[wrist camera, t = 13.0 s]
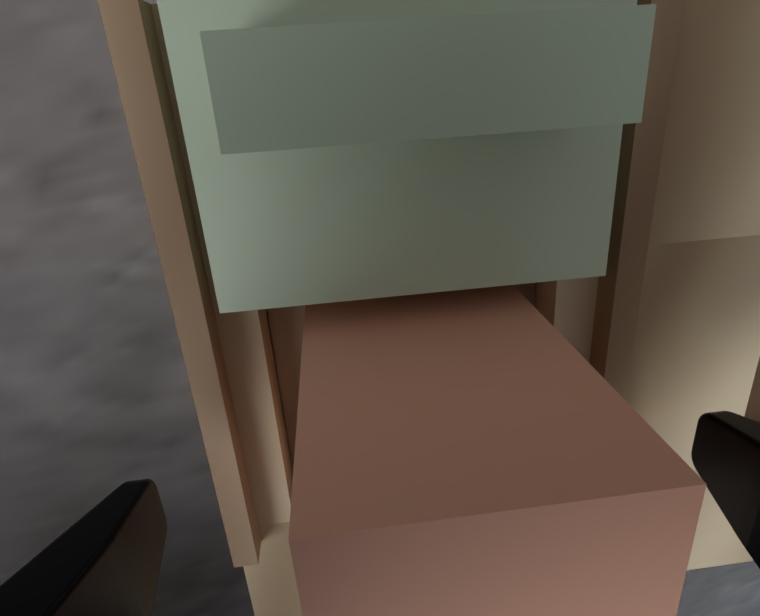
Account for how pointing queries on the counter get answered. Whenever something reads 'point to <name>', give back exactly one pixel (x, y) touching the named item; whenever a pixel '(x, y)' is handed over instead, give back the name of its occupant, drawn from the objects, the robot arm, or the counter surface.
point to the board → (552, 298)
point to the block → (476, 469)
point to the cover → (403, 140)
